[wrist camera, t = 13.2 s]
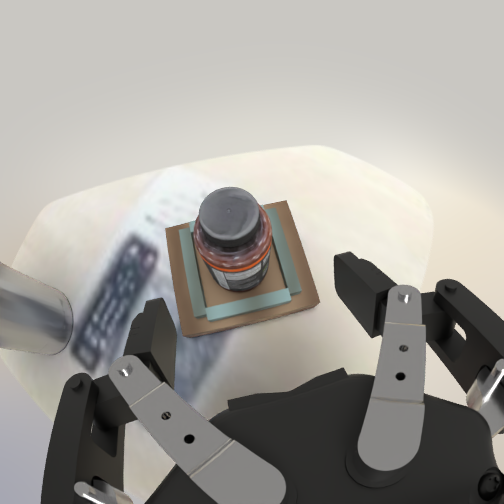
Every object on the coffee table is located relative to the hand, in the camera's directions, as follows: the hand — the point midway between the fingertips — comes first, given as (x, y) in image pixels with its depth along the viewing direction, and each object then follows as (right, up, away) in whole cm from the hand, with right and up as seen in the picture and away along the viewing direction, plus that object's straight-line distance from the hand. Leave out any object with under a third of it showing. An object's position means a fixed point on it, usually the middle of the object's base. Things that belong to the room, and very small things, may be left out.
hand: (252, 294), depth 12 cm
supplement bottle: (-1, 0, +16) cm, 16 cm away
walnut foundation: (-1, 0, +19) cm, 19 cm away
